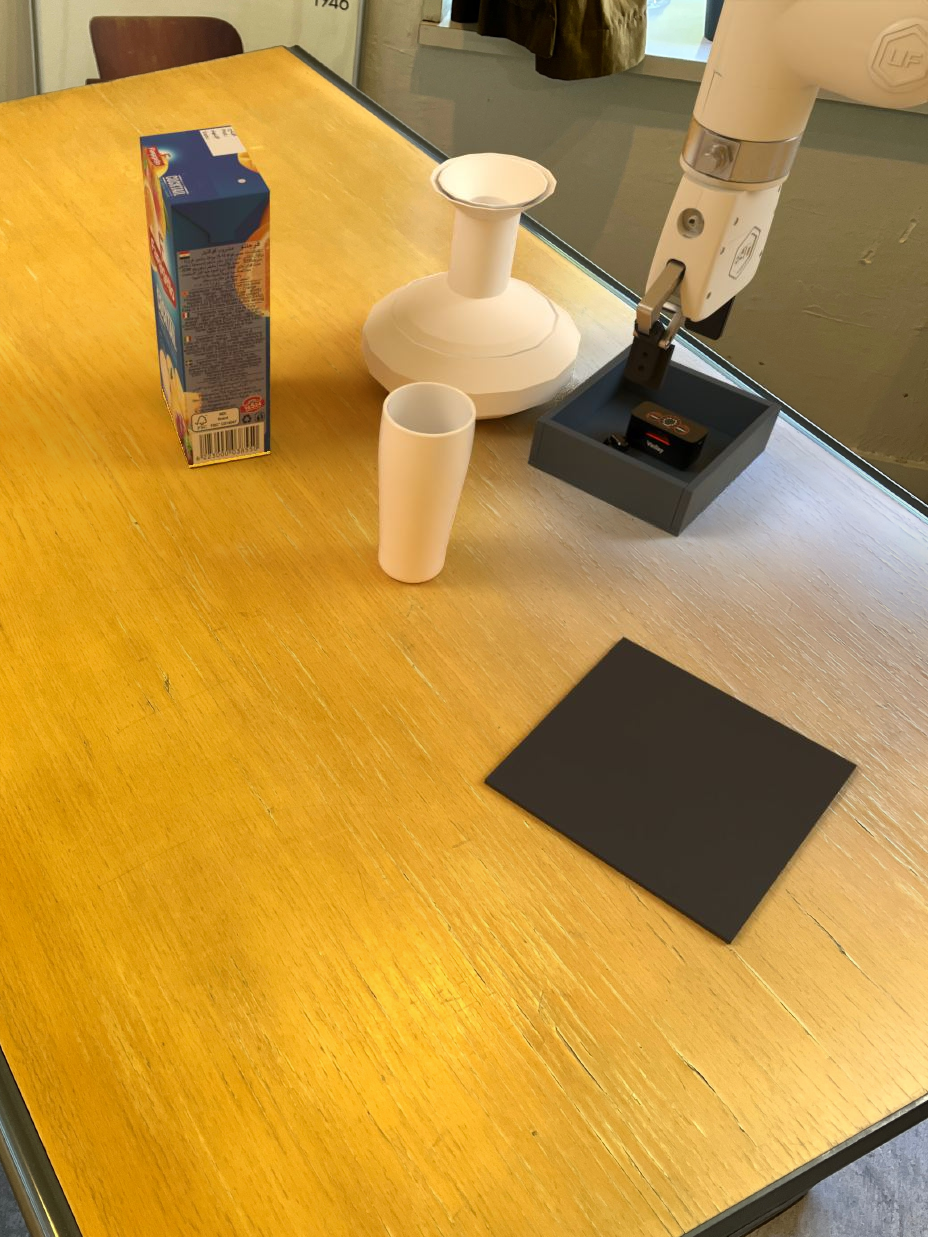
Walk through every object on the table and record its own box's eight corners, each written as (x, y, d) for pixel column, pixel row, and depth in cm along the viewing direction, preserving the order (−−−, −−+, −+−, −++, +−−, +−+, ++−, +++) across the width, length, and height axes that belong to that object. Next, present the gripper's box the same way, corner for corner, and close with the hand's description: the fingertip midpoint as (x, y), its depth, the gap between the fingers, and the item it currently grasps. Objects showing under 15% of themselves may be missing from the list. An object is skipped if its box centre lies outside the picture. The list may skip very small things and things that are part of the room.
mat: (855, 768, 77) (857, 764, 77) (729, 945, 68) (731, 942, 68) (622, 639, 85) (623, 636, 85) (483, 782, 76) (484, 779, 76)
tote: (764, 450, 100) (782, 405, 97) (677, 537, 93) (692, 492, 89) (619, 387, 107) (631, 343, 103) (527, 463, 99) (536, 419, 96)
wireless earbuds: (629, 426, 102) (638, 395, 99) (700, 460, 98) (710, 430, 96) (600, 448, 100) (608, 418, 97) (671, 484, 96) (681, 454, 94)
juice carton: (270, 455, 101) (270, 190, 83) (189, 469, 99) (171, 204, 81) (237, 381, 108) (230, 124, 90) (161, 393, 107) (139, 136, 89)
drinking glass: (358, 582, 90) (371, 426, 78) (380, 529, 94) (394, 373, 83) (442, 601, 88) (467, 444, 77) (460, 545, 92) (486, 389, 81)
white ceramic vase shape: (614, 385, 107) (667, 185, 93) (469, 472, 99) (502, 266, 84) (460, 302, 117) (486, 109, 103) (316, 373, 109) (323, 175, 95)
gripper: (730, 206, 74) (660, 423, 87) (843, 123, 82) (763, 332, 95) (629, 171, 77) (575, 384, 90) (747, 94, 85) (683, 299, 98)
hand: (672, 357), depth 92 cm, fingers open, 9 cm apart
